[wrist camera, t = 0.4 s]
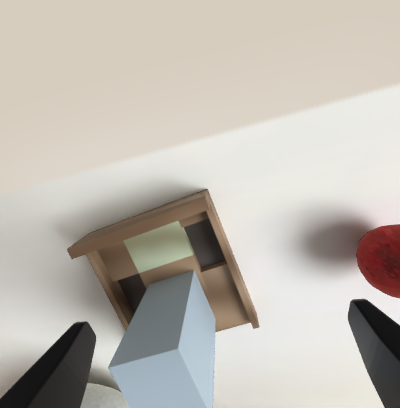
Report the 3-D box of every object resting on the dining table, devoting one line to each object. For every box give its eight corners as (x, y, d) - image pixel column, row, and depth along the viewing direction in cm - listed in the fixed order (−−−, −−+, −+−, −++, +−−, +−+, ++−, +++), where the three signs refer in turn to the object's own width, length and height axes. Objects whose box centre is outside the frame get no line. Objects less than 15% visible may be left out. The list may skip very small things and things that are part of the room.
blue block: (215, 319, 27) (212, 420, 17) (171, 331, 28) (145, 435, 18) (194, 269, 26) (178, 348, 16) (149, 284, 26) (107, 367, 17)
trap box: (256, 313, 27) (262, 342, 23) (146, 345, 29) (135, 376, 26) (207, 189, 24) (204, 198, 21) (89, 233, 27) (66, 249, 23)
